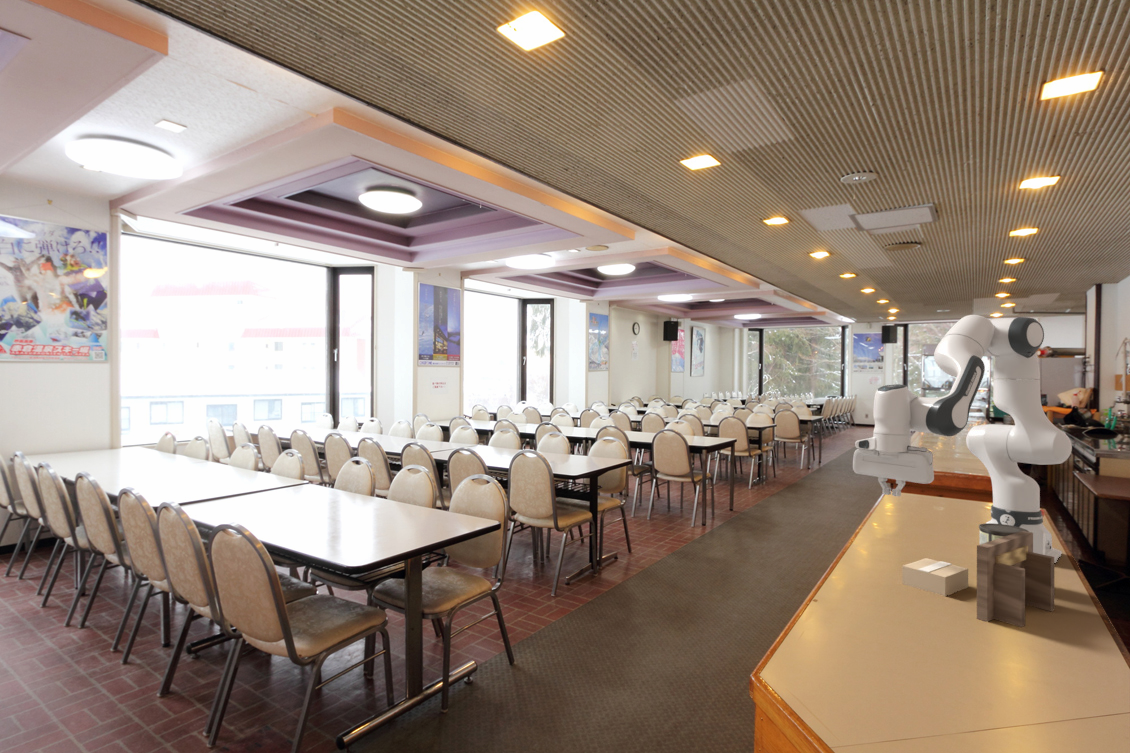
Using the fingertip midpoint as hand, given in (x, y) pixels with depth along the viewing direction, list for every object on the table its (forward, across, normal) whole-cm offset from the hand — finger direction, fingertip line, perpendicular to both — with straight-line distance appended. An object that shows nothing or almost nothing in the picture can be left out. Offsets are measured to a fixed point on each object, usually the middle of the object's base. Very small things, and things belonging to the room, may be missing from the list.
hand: (891, 495), depth 155 cm
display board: (+21, -29, +2) cm, 36 cm away
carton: (+21, -11, 0) cm, 24 cm away
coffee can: (+21, -19, -18) cm, 34 cm away
